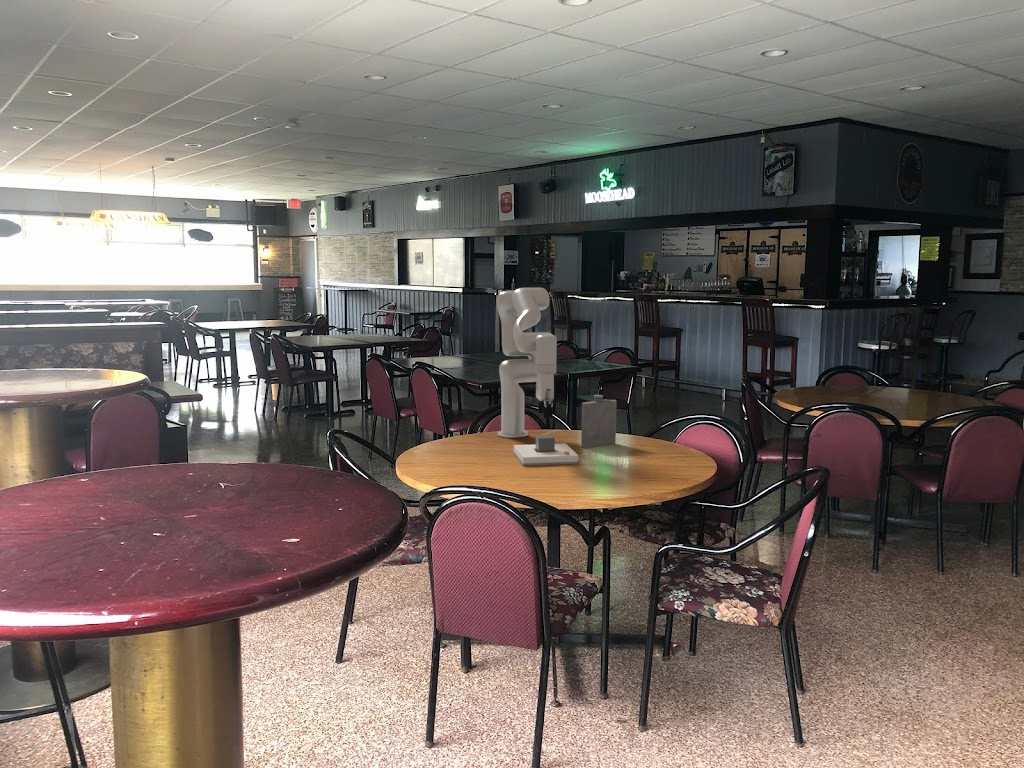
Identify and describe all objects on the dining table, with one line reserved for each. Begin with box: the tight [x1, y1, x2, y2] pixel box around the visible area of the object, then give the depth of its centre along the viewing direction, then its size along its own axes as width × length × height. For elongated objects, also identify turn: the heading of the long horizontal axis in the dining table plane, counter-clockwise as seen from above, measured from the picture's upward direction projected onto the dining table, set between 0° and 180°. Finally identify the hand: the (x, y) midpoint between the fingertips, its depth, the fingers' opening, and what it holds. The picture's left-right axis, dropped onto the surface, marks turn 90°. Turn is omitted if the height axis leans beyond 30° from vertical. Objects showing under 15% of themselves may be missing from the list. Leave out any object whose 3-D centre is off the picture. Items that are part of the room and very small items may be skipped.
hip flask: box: [580, 394, 617, 449], centre depth 314 cm, size 16×4×20 cm, turn 121°
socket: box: [513, 442, 579, 467], centre depth 294 cm, size 20×20×4 cm
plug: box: [535, 434, 556, 452], centre depth 293 cm, size 5×6×7 cm
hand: (545, 415), depth 292 cm, fingers open, 9 cm apart
